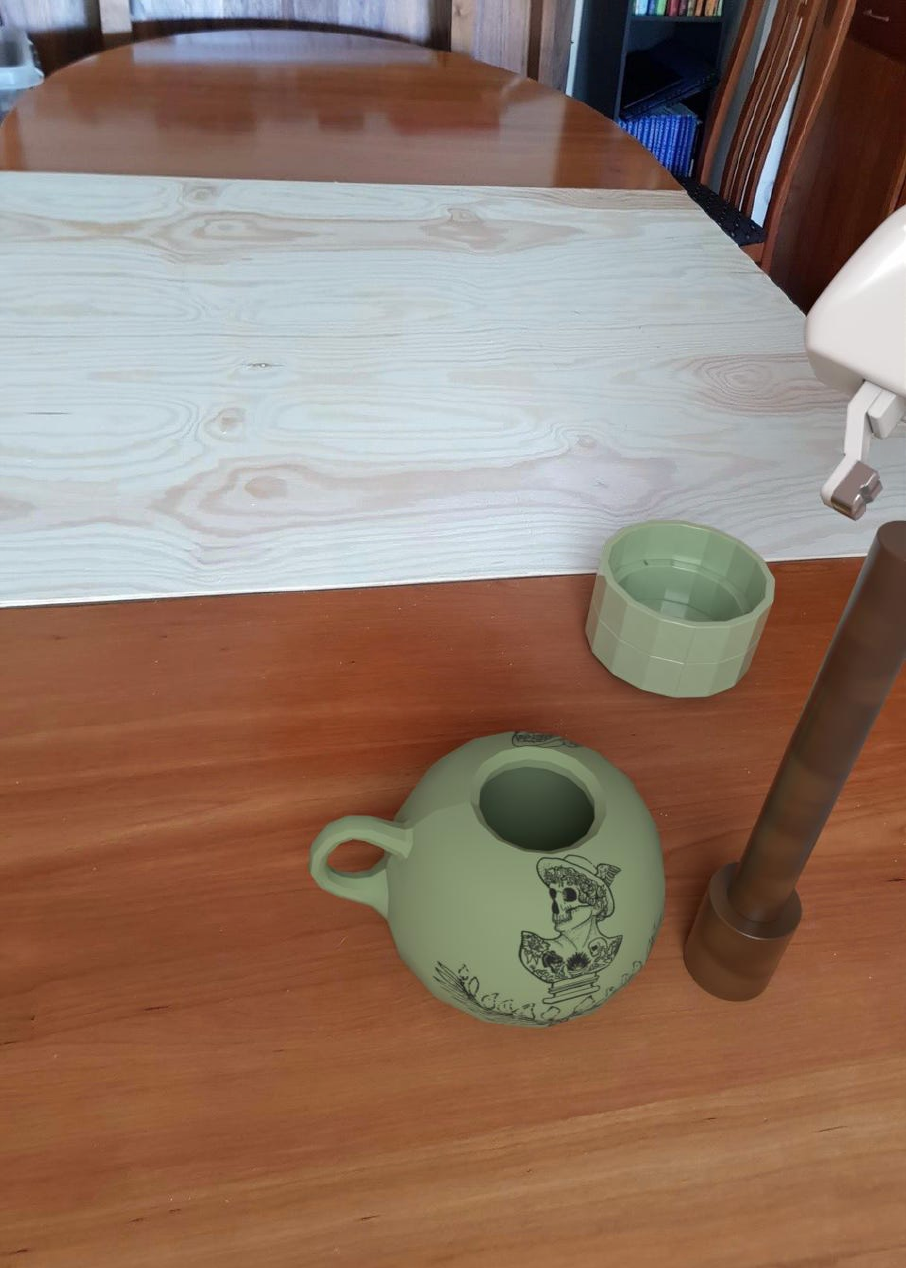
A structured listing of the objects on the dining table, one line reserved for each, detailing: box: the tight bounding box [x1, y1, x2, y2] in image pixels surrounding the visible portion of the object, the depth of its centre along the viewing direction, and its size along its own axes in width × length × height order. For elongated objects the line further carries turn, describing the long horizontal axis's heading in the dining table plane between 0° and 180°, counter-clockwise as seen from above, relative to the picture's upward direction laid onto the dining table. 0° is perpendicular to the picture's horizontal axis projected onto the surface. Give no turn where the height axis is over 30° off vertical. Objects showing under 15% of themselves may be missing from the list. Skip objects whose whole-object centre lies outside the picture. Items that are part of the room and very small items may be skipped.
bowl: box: [584, 519, 776, 699], centre depth 63 cm, size 10×10×6 cm
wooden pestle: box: [683, 519, 906, 1003], centre depth 41 cm, size 4×4×24 cm
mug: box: [307, 730, 667, 1029], centre depth 47 cm, size 16×13×9 cm
